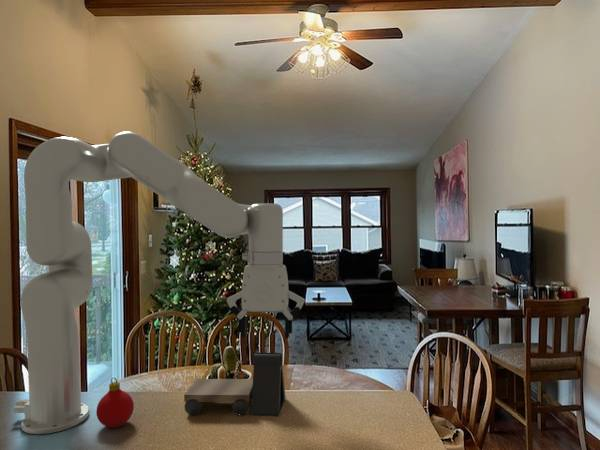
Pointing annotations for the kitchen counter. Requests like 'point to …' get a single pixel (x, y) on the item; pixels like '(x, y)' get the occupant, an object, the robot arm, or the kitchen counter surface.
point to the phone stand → (267, 384)
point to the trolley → (219, 394)
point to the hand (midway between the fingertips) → (265, 336)
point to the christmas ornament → (115, 406)
